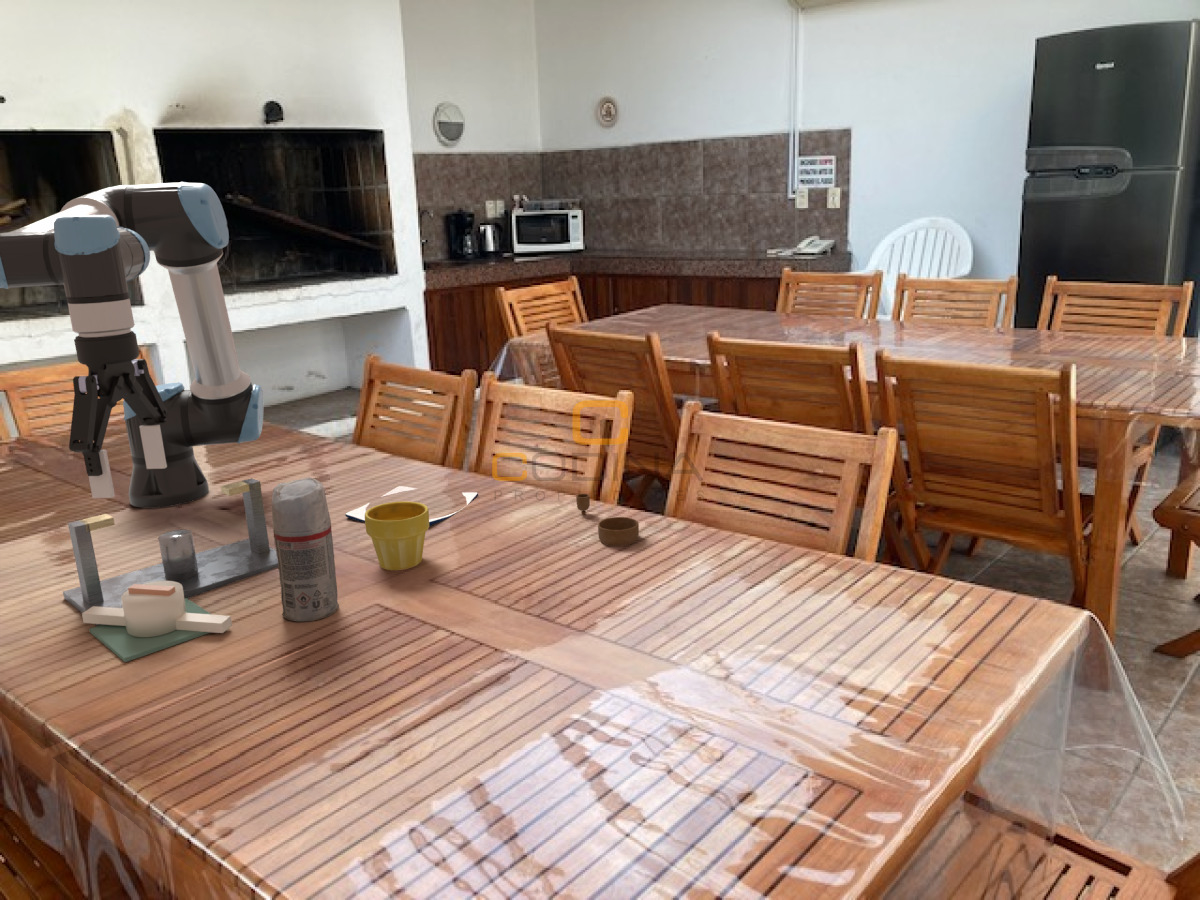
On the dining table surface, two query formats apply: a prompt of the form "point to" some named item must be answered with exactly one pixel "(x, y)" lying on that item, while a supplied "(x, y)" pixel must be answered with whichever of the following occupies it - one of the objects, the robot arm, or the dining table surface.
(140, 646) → the mat
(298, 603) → the spray can
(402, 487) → the plate
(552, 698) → the dining table surface
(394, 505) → the plant pot
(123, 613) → the cream crossbar with hub
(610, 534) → the place setting
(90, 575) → the grey frame
